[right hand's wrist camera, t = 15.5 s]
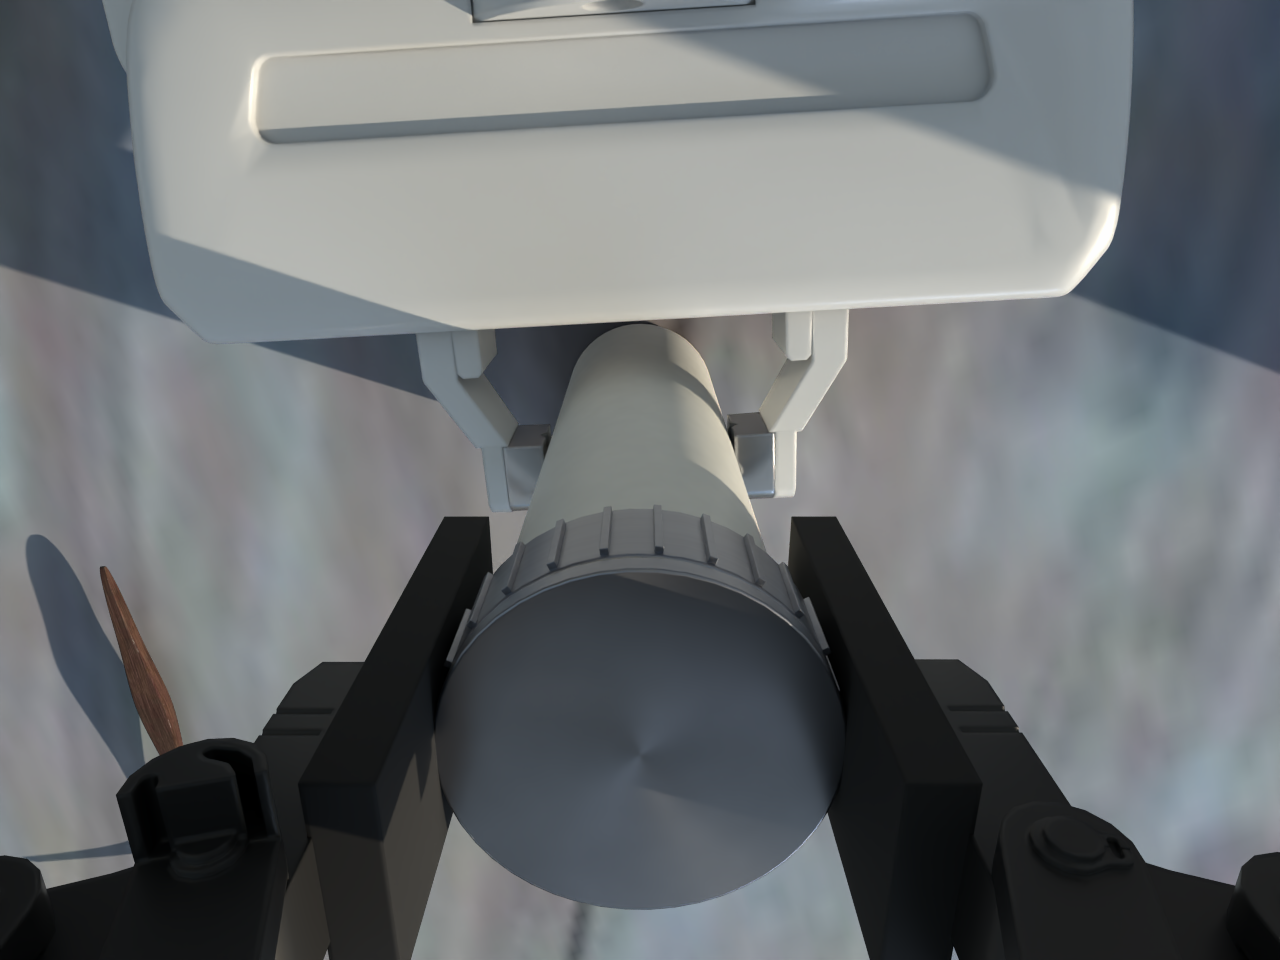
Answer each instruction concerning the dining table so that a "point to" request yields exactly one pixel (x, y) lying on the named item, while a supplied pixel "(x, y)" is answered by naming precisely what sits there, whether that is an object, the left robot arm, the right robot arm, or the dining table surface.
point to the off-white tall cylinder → (640, 438)
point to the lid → (640, 712)
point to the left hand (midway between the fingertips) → (644, 497)
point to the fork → (142, 673)
